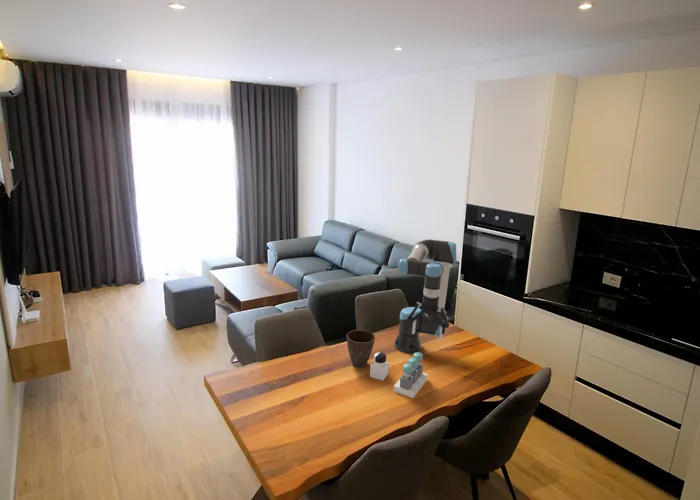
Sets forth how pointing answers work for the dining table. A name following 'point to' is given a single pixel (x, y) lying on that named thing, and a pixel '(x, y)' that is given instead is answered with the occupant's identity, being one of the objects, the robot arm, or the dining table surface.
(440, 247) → the robot arm
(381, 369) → the medicine bottle
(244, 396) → the dining table surface
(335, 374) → the dining table surface
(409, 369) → the knob
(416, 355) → the knob
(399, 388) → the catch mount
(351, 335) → the plant pot
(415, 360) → the knob
